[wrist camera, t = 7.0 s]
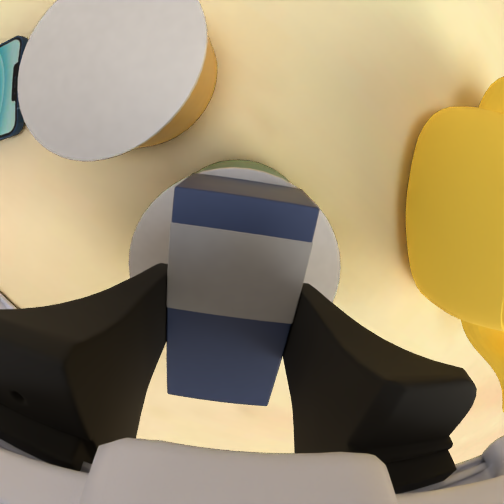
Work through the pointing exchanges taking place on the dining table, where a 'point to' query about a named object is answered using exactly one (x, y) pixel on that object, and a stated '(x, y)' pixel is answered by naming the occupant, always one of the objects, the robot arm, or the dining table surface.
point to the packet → (233, 284)
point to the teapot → (462, 219)
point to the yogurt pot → (160, 211)
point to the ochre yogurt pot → (115, 75)
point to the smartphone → (10, 86)
